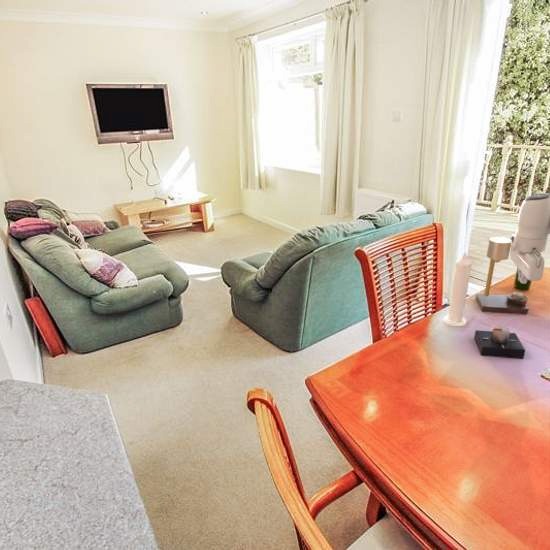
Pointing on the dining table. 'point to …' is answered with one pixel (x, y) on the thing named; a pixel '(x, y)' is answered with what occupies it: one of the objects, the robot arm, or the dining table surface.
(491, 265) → the desk lamp
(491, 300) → the lamp base
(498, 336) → the dimmer knob
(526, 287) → the beer can
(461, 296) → the candle
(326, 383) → the dining table surface
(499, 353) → the dimmer panel
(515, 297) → the lamp switch
